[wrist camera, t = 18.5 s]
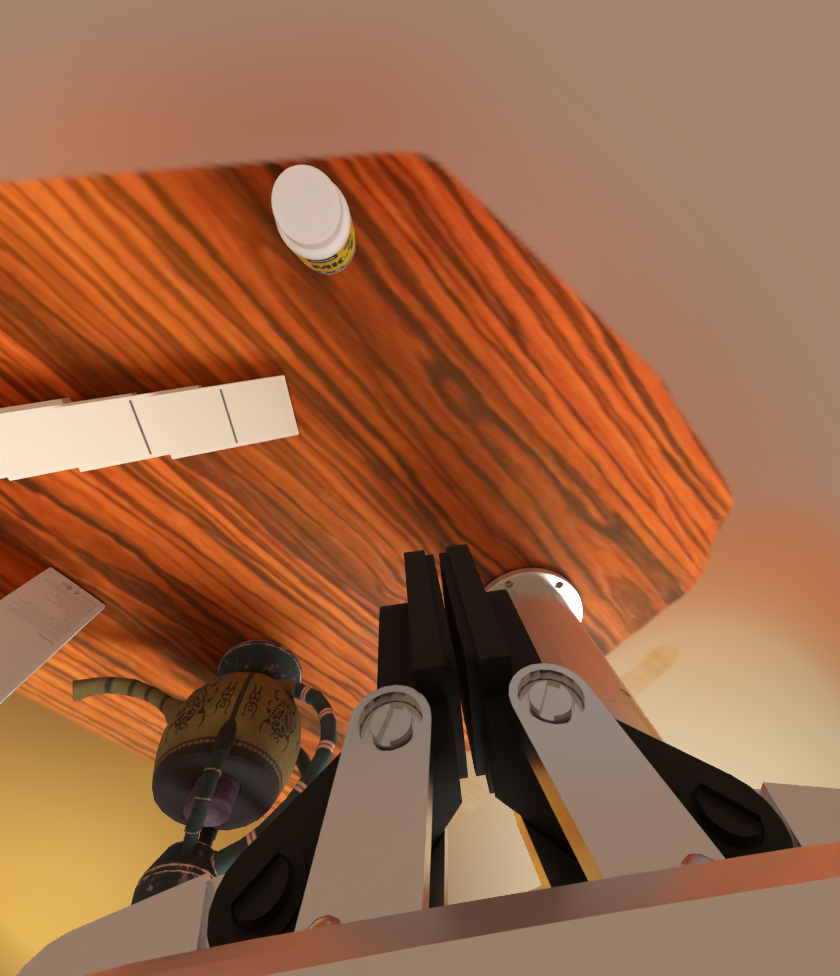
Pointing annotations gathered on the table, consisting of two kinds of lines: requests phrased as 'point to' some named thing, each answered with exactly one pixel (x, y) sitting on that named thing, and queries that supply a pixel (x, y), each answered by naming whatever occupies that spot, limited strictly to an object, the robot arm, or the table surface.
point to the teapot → (226, 755)
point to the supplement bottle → (313, 219)
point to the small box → (39, 624)
